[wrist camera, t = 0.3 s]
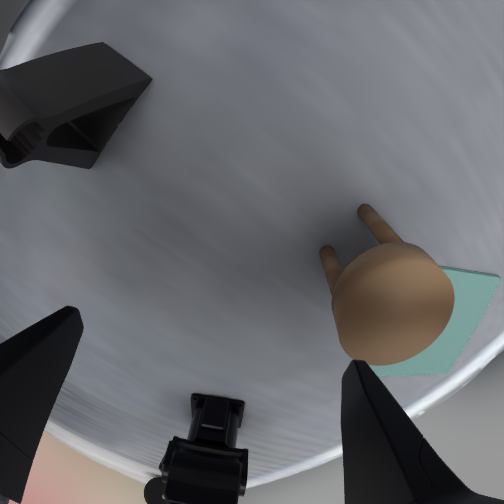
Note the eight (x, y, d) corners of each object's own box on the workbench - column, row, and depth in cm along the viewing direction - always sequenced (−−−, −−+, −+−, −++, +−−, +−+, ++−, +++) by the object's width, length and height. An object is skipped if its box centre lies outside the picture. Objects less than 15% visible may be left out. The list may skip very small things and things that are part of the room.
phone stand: (105, 42, 17) (-5, 18, 6) (153, 78, 18) (45, 60, 7) (50, 129, 20) (-56, 159, 9) (91, 168, 21) (-16, 219, 11)
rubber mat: (445, 370, 29) (447, 373, 29) (349, 372, 29) (350, 376, 29) (498, 275, 23) (501, 278, 22) (396, 259, 23) (398, 262, 22)
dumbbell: (188, 463, 44) (179, 507, 35) (227, 479, 47) (222, 519, 38) (136, 472, 51) (126, 504, 42) (170, 487, 54) (163, 518, 45)
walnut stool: (382, 282, 24) (423, 365, 15) (307, 273, 24) (323, 363, 15) (404, 209, 21) (472, 271, 12) (324, 193, 21) (361, 254, 12)
